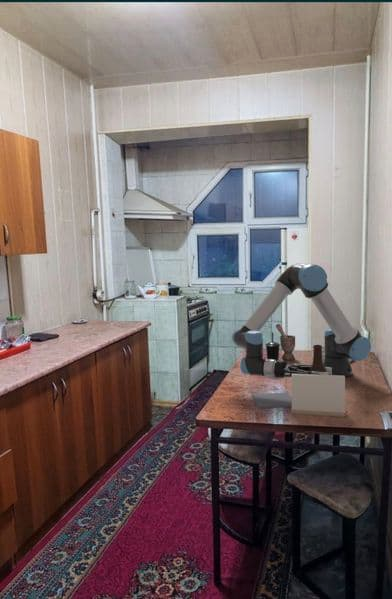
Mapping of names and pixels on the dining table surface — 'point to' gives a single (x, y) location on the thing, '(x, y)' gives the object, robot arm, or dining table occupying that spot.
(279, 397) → the mat
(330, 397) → the screen
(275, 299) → the robot arm
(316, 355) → the beer bottle
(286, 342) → the mortar and pestle
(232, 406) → the dining table surface
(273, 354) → the drinking cup
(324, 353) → the dish
